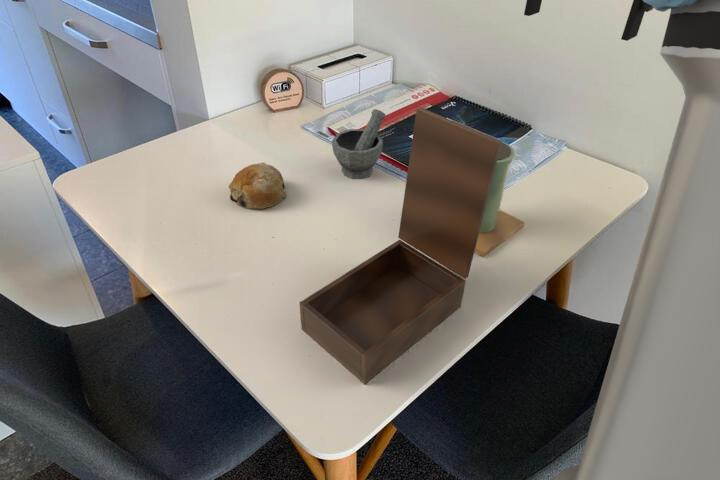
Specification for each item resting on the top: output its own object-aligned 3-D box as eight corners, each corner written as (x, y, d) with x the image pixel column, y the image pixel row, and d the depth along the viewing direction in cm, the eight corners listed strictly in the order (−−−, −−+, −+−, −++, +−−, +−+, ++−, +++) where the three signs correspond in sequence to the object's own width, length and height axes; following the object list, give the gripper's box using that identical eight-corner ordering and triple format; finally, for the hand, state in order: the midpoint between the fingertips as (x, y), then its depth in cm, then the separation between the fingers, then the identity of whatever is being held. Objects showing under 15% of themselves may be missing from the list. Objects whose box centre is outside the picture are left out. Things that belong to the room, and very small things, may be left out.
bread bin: (364, 385, 65) (365, 358, 62) (301, 329, 72) (299, 302, 69) (461, 307, 76) (466, 280, 73) (397, 265, 83) (399, 239, 80)
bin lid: (498, 142, 60) (521, 132, 63) (416, 108, 67) (441, 100, 70) (464, 279, 72) (485, 265, 75) (397, 237, 79) (419, 226, 82)
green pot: (481, 241, 86) (496, 167, 78) (444, 220, 91) (454, 148, 82) (507, 221, 91) (524, 149, 82) (471, 202, 95) (483, 132, 86)
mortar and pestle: (350, 189, 100) (350, 132, 92) (324, 168, 106) (322, 113, 98) (396, 171, 105) (399, 116, 98) (368, 152, 111) (370, 99, 103)
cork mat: (483, 257, 85) (484, 252, 84) (426, 224, 91) (427, 220, 91) (523, 226, 91) (524, 222, 91) (468, 198, 98) (468, 193, 97)
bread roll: (282, 224, 97) (297, 188, 93) (227, 212, 92) (242, 175, 88) (273, 195, 104) (288, 161, 101) (223, 183, 99) (236, 147, 96)
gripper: (779, -185, 50) (688, 42, 63) (545, -186, 63) (511, 0, 77) (755, -187, 45) (663, 57, 59) (510, -188, 59) (481, 9, 73)
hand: (577, 25), depth 68 cm, fingers open, 13 cm apart
